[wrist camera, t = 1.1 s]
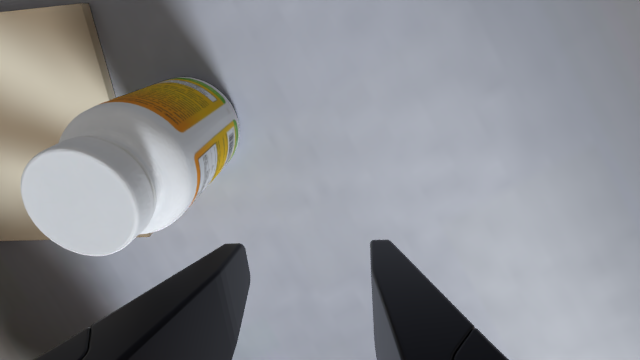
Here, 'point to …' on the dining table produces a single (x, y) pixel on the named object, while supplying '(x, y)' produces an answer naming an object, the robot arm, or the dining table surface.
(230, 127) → the supplement bottle
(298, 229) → the dining table surface
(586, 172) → the dining table surface
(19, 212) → the birch mat
